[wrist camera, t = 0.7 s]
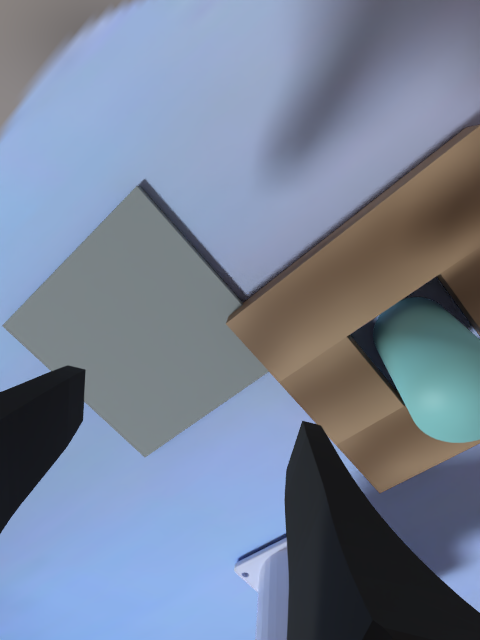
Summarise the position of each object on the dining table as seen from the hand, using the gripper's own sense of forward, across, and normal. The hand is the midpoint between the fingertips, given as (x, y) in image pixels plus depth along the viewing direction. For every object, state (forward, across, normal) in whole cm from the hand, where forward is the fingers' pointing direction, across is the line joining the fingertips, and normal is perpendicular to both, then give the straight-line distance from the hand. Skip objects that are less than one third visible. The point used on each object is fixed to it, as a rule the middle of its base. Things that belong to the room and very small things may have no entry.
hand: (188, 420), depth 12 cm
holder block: (+10, -10, -1) cm, 14 cm away
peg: (+10, -10, -1) cm, 14 cm away
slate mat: (+10, +5, +3) cm, 11 cm away
